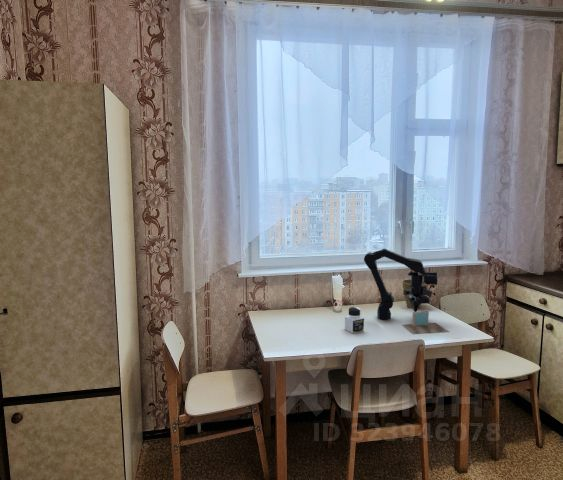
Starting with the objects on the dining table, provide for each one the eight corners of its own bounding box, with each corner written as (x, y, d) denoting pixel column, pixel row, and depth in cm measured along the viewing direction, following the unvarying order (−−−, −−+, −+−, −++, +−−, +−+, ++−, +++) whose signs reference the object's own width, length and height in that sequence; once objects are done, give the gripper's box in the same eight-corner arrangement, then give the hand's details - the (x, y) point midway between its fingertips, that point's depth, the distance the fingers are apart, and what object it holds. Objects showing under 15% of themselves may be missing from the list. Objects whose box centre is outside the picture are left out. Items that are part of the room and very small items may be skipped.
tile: (414, 326, 214) (414, 313, 213) (412, 324, 216) (412, 311, 215) (428, 325, 215) (428, 312, 214) (426, 323, 217) (426, 311, 216)
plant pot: (410, 312, 241) (411, 285, 238) (396, 304, 255) (397, 279, 253) (432, 309, 245) (433, 284, 242) (417, 302, 259) (418, 278, 257)
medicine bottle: (352, 333, 207) (353, 310, 205) (344, 329, 213) (344, 307, 211) (363, 331, 210) (364, 308, 208) (355, 327, 216) (355, 305, 214)
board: (412, 336, 202) (412, 334, 202) (400, 326, 216) (400, 324, 216) (449, 334, 205) (450, 331, 205) (435, 324, 219) (435, 322, 219)
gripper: (439, 287, 210) (438, 316, 212) (422, 279, 229) (420, 305, 231) (419, 288, 209) (418, 317, 211) (403, 279, 227) (402, 306, 229)
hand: (415, 311), depth 220 cm, fingers closed
